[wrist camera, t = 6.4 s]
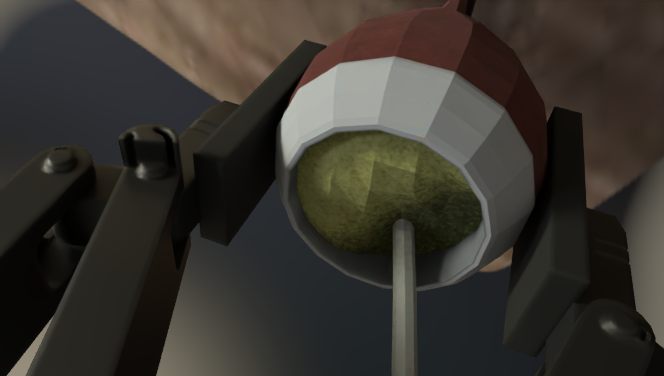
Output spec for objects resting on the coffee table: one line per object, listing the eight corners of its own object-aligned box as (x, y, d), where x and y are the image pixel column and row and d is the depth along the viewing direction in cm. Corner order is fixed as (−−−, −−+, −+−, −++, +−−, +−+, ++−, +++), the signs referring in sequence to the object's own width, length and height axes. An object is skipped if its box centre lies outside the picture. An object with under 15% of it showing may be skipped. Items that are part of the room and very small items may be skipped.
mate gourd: (362, -58, 16) (-91, 310, 5) (622, 0, 14) (792, 710, 3) (336, 134, 21) (81, 528, 10) (527, 191, 19) (474, 732, 8)
